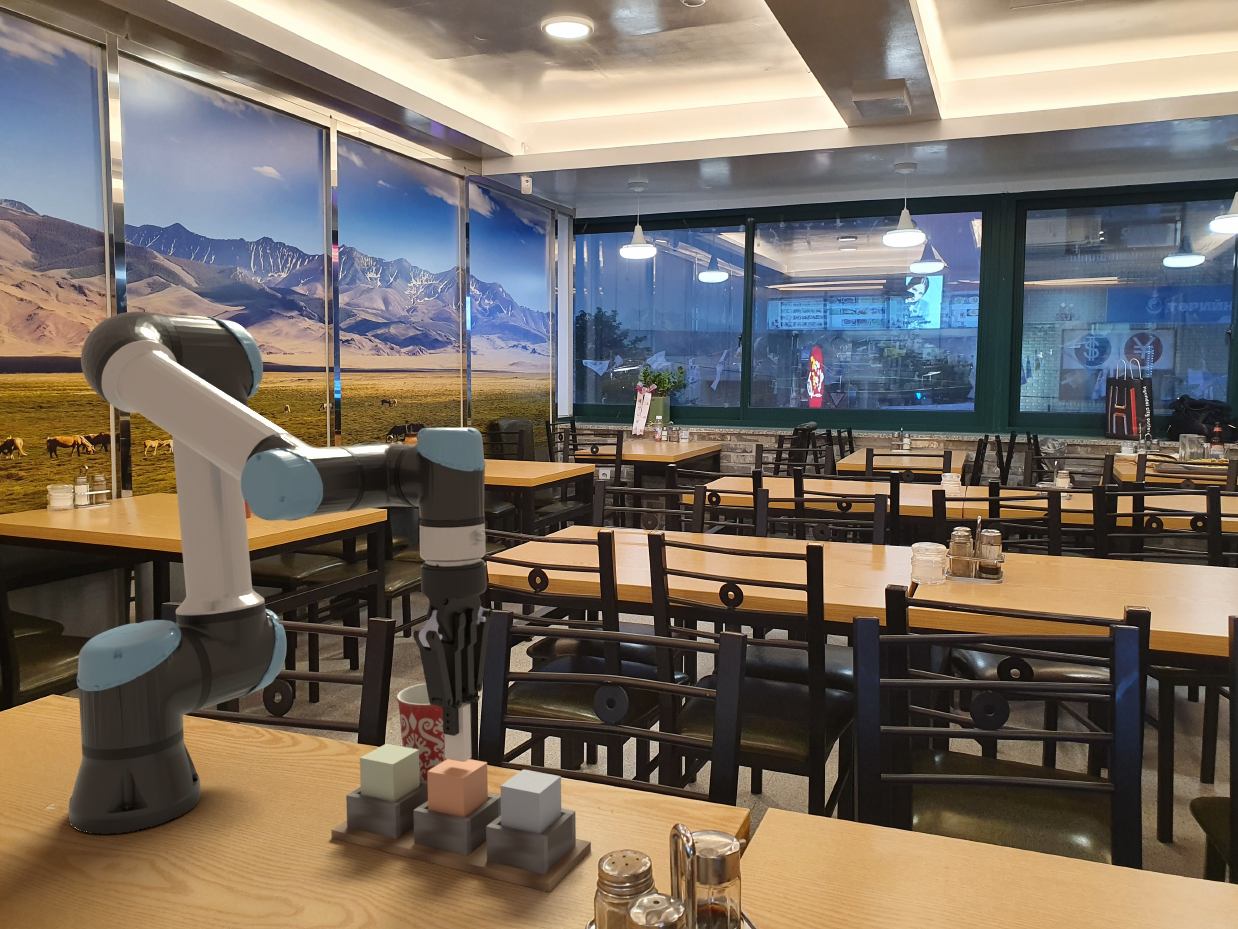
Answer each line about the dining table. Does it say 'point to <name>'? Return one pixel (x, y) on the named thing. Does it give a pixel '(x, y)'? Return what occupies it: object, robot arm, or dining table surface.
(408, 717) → the mug
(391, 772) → the sage button
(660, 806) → the dining table surface
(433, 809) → the terracotta button
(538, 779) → the slate button
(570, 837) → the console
